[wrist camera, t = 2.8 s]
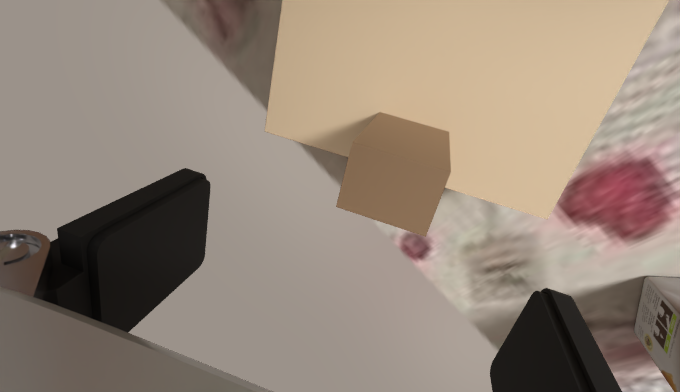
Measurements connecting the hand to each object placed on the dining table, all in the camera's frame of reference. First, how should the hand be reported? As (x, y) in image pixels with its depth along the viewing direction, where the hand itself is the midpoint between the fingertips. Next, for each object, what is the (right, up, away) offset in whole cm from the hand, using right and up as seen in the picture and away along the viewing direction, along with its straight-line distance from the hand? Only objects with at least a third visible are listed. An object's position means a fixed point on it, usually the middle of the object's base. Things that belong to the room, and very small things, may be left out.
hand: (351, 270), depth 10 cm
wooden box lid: (+5, +10, +9) cm, 14 cm away
